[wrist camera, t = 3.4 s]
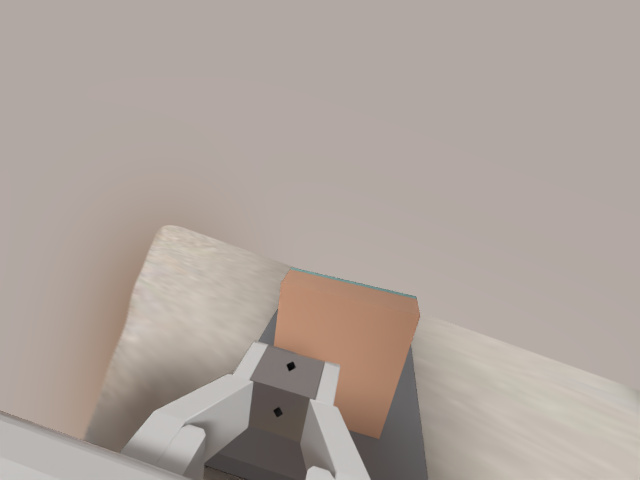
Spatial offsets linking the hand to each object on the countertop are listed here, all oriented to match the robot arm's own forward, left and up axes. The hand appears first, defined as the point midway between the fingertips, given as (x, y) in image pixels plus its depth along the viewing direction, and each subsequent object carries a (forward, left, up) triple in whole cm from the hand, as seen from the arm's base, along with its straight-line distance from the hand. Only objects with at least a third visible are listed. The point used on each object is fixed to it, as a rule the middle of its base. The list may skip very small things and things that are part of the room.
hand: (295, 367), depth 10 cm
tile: (-1, -8, -11) cm, 14 cm away
